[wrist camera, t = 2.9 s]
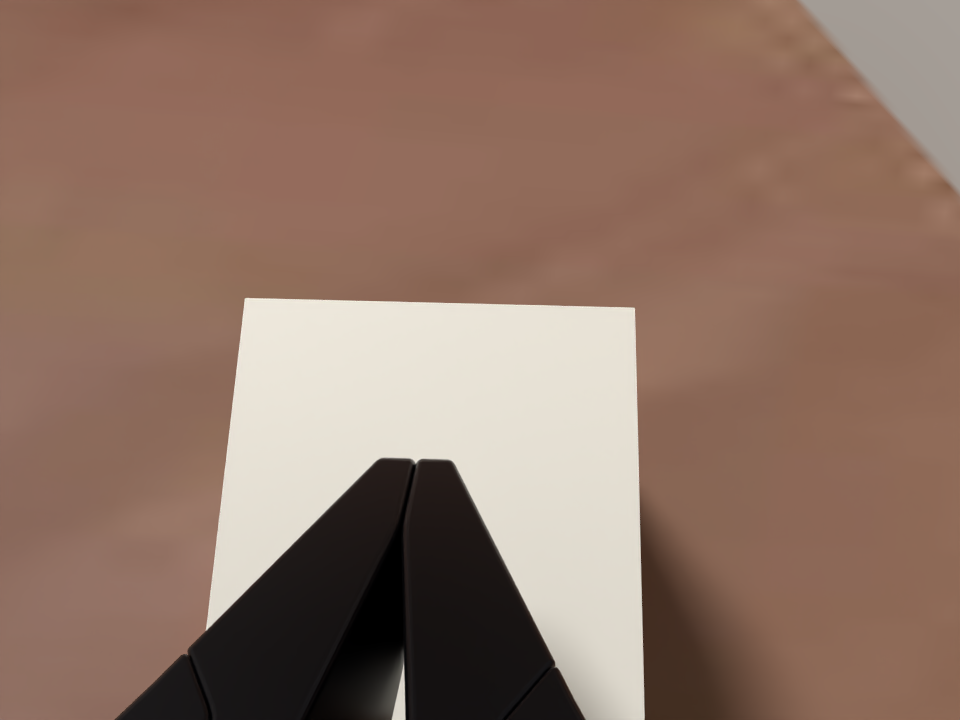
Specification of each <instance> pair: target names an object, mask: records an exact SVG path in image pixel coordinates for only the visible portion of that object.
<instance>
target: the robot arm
mask: <svg viewBox="0 0 960 720" xmlns="http://www.w3.org/2000/svg"><path fill="white" fill-rule="evenodd" d="M403 665H404V681H405V720H586V719H585V717H584V716H583V714H582V712H581V710H580V708H579V707H578V705H577V703H576V701H575V699H574V697H573V695H572V693H571V691H570V690H569V688H568V686H567V684H566V682H565V680H564V678H563V676H562V674H561V672H560V670H559V669H558V668H557V667H555V661H554V659H553V657H552V655H551V653H550V651H549V649H548V647H547V645H546V643H545V641H544V639H543V637H542V635H541V633H540V631H539V629H538V627H537V625H536V623H535V621H534V619H533V617H532V615H531V613H530V611H529V609H528V607H527V605H526V604H525V602H524V600H523V598H522V596H521V594H520V592H519V590H518V588H517V586H516V584H515V582H514V580H513V578H512V576H511V574H510V572H509V570H508V568H507V566H506V564H505V562H504V560H503V558H502V556H501V554H500V552H499V550H498V548H497V546H496V544H495V542H494V540H493V538H492V536H491V534H490V532H489V530H488V529H487V527H486V525H485V523H484V521H483V519H482V517H481V515H480V513H479V511H478V509H477V507H476V505H475V503H474V501H473V499H472V497H471V495H470V493H469V491H468V489H467V487H466V485H465V483H464V481H463V479H462V477H461V475H460V473H459V471H458V469H457V467H456V465H455V464H454V462H453V461H451V460H448V459H420V460H418V461H417V463H415V462H414V460H413V459H410V458H386V457H384V458H380V459H378V460H376V461H375V462H374V463H373V464H372V465H371V466H370V467H369V468H368V469H367V470H366V471H365V472H364V473H363V474H362V475H361V476H360V477H359V478H358V479H357V480H356V481H355V482H354V483H353V484H352V485H351V486H350V487H349V488H348V489H347V490H346V491H345V492H344V493H343V494H342V495H341V496H340V497H339V498H338V499H337V500H336V501H335V502H334V503H333V504H332V505H331V506H330V507H329V508H328V509H327V510H326V511H325V512H324V513H323V514H322V515H321V516H320V517H319V518H318V519H317V520H316V521H315V522H314V523H313V524H312V525H311V526H310V527H309V528H308V529H307V530H306V531H305V532H304V533H303V534H302V535H301V536H300V537H299V538H298V539H297V540H296V541H295V542H294V543H293V544H292V545H291V546H290V547H289V548H288V549H287V550H286V551H285V552H284V553H283V554H282V555H281V556H280V557H279V558H278V559H277V560H276V561H275V562H274V563H273V564H272V565H271V566H270V567H269V568H268V569H267V570H266V571H265V572H264V573H263V574H262V575H261V576H260V577H259V578H258V579H257V580H256V581H255V582H254V583H253V584H252V585H251V586H250V587H249V588H248V589H247V590H246V591H245V592H244V593H243V594H242V595H241V596H240V597H239V598H238V599H237V600H236V601H235V602H234V603H233V604H232V605H231V606H230V607H229V608H228V609H227V610H226V611H225V612H224V613H223V614H222V615H221V616H220V617H219V618H218V619H217V620H216V621H215V622H214V623H213V624H212V625H211V626H210V627H209V628H208V629H207V630H206V631H205V632H204V633H203V634H202V635H201V636H200V637H199V638H198V639H197V640H196V641H195V642H194V643H193V644H192V645H191V646H190V647H189V649H188V655H187V654H183V655H181V656H180V657H179V658H178V659H177V660H176V661H175V662H174V663H173V664H172V665H171V666H170V667H169V668H168V669H167V670H166V671H165V672H164V673H163V674H162V675H161V676H160V677H159V678H158V679H157V680H156V681H155V682H154V683H153V684H152V685H151V686H150V687H149V688H147V689H146V690H145V691H144V692H143V693H142V694H141V695H140V696H139V697H138V698H137V699H136V700H135V701H134V702H133V703H132V704H131V705H130V706H129V707H127V708H126V709H125V710H124V711H123V712H122V713H121V714H120V715H119V716H118V717H117V718H116V719H115V720H392V716H393V711H394V707H395V702H396V698H397V693H398V689H399V684H400V680H401V675H402V670H403Z"/></svg>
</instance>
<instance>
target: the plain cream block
mask: <svg viewBox="0 0 960 720" xmlns="http://www.w3.org/2000/svg"><path fill="white" fill-rule="evenodd" d="M384 457H386V458H410V459H413V460H414V462H415V463H417V461H418V460H420V459H448V460H451V461H453V462H454V464H455V465H456V467H457V469H458V471H459V473H460V475H461V477H462V479H463V481H464V483H465V485H466V487H467V489H468V491H469V493H470V495H471V497H472V499H473V501H474V503H475V505H476V507H477V509H478V511H479V513H480V515H481V517H482V519H483V521H484V523H485V525H486V527H487V529H488V530H489V532H490V534H491V536H492V538H493V540H494V542H495V544H496V546H497V548H498V550H499V552H500V554H501V556H502V558H503V560H504V562H505V564H506V566H507V568H508V570H509V572H510V574H511V576H512V578H513V580H514V582H515V584H516V586H517V588H518V590H519V592H520V594H521V596H522V598H523V600H524V602H525V604H526V605H527V607H528V609H529V611H530V613H531V615H532V617H533V619H534V621H535V623H536V625H537V627H538V629H539V631H540V633H541V635H542V637H543V639H544V641H545V643H546V645H547V647H548V649H549V651H550V653H551V655H552V657H553V659H554V661H555V667H557V668H558V669H559V670H560V672H561V674H562V676H563V678H564V680H565V682H566V684H567V686H568V688H569V690H570V691H571V693H572V695H573V697H574V699H575V701H576V703H577V705H578V707H579V708H580V710H581V712H582V714H583V716H584V717H585V719H586V720H645V712H644V670H643V628H642V587H641V545H640V503H639V462H638V420H637V378H636V337H635V308H622V307H582V306H542V305H502V304H462V303H421V302H381V301H341V300H301V299H261V298H245V303H244V312H243V320H242V329H241V338H240V346H239V355H238V363H237V372H236V380H235V389H234V397H233V406H232V414H231V423H230V431H229V440H228V448H227V457H226V465H225V474H224V483H223V491H222V500H221V508H220V517H219V525H218V534H217V542H216V551H215V559H214V568H213V576H212V585H211V593H210V602H209V610H208V619H207V628H206V630H207V629H208V628H209V627H210V626H211V625H212V624H213V623H214V622H215V621H216V620H217V619H218V618H219V617H220V616H221V615H222V614H223V613H224V612H225V611H226V610H227V609H228V608H229V607H230V606H231V605H232V604H233V603H234V602H235V601H236V600H237V599H238V598H239V597H240V596H241V595H242V594H243V593H244V592H245V591H246V590H247V589H248V588H249V587H250V586H251V585H252V584H253V583H254V582H255V581H256V580H257V579H258V578H259V577H260V576H261V575H262V574H263V573H264V572H265V571H266V570H267V569H268V568H269V567H270V566H271V565H272V564H273V563H274V562H275V561H276V560H277V559H278V558H279V557H280V556H281V555H282V554H283V553H284V552H285V551H286V550H287V549H288V548H289V547H290V546H291V545H292V544H293V543H294V542H295V541H296V540H297V539H298V538H299V537H300V536H301V535H302V534H303V533H304V532H305V531H306V530H307V529H308V528H309V527H310V526H311V525H312V524H313V523H314V522H315V521H316V520H317V519H318V518H319V517H320V516H321V515H322V514H323V513H324V512H325V511H326V510H327V509H328V508H329V507H330V506H331V505H332V504H333V503H334V502H335V501H336V500H337V499H338V498H339V497H340V496H341V495H342V494H343V493H344V492H345V491H346V490H347V489H348V488H349V487H350V486H351V485H352V484H353V483H354V482H355V481H356V480H357V479H358V478H359V477H360V476H361V475H362V474H363V473H364V472H365V471H366V470H367V469H368V468H369V467H370V466H371V465H372V464H373V463H374V462H375V461H376V460H378V459H380V458H384ZM392 720H405V681H404V665H403V670H402V675H401V680H400V684H399V689H398V693H397V698H396V702H395V707H394V711H393V716H392Z"/></svg>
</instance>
